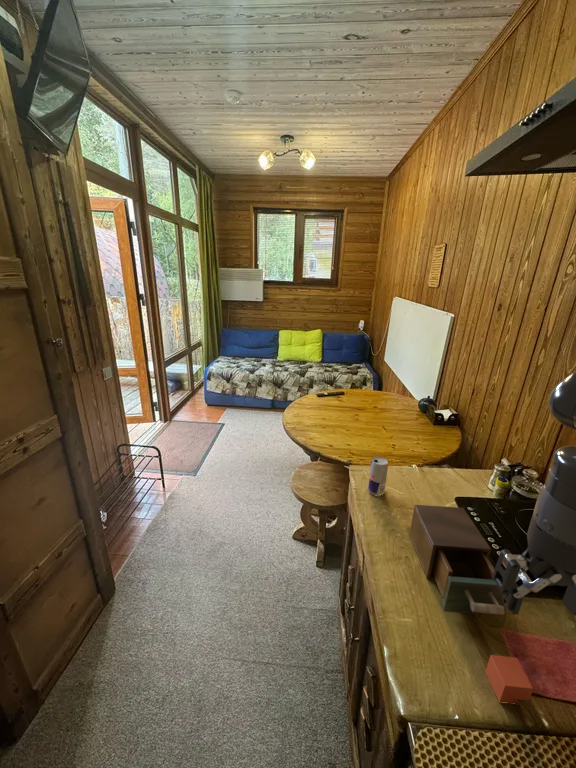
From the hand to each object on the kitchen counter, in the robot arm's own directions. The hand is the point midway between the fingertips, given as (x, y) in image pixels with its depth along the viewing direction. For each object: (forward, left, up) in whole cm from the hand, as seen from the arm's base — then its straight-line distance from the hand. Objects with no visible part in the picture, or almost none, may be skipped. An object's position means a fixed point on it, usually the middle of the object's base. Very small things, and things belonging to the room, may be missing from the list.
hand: (540, 608), depth 46 cm
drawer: (0, -17, -19) cm, 26 cm away
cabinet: (0, -28, -20) cm, 35 cm away
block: (0, -1, -20) cm, 20 cm away
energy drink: (+12, -53, -20) cm, 58 cm away
